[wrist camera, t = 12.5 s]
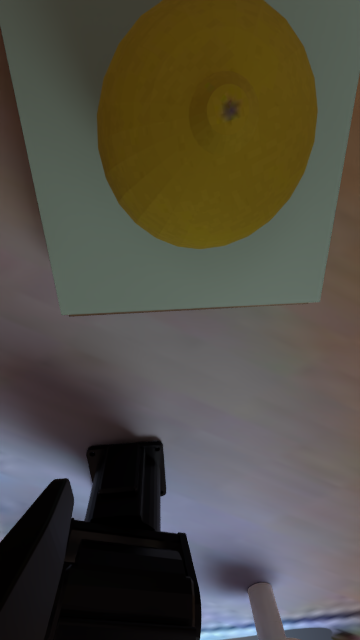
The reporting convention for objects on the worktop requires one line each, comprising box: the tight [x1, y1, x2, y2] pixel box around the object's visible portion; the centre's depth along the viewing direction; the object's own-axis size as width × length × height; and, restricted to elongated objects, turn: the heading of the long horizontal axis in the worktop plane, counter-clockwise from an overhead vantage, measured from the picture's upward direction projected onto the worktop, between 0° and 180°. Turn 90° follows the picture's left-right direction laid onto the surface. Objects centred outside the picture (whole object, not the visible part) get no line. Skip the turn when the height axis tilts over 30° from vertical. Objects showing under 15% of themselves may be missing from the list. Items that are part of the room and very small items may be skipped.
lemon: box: [97, 0, 318, 249], centre depth 8 cm, size 6×6×8 cm
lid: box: [0, 0, 360, 315], centre depth 12 cm, size 13×13×1 cm
